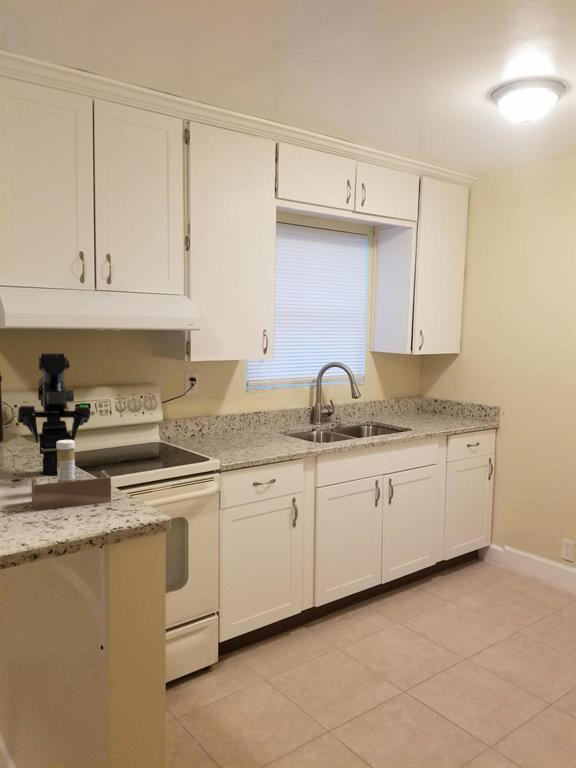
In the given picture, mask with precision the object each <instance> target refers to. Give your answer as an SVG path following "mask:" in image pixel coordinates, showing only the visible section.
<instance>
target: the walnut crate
mask: <svg viewBox="0 0 576 768" xmlns="http://www.w3.org/2000/svg"><path fill="white" fill-rule="evenodd" d="M100 473H101V474H100V478H99V477H98V478H89V479H79V480H75V481H67V482H58V481H57V482H49V483H38V482H37V479H36V477H31V478H30V479H31V480H30V482H31V483H30V484H31V486H30V487H31V502H32V506H33V509H34V511H42V510H43V511H44V510H49V509H50V510H51V509H60V508H68V507H76V506H85V505H91V504H92V505H93V504H100V503H101V504H102V503H108V502H112V480H111V479H112V478H111V476H110V475H109V474H108V473H107V472H106V471H105V470H101V471H100Z"/></svg>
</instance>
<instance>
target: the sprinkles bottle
mask: <svg viewBox="0 0 576 768" xmlns="http://www.w3.org/2000/svg"><path fill="white" fill-rule="evenodd" d="M75 446H76V444H75V439H74V440H60V441H57V442H56V448H57V475H56V476H57V478H56V479H57V482H67V481H76V480H75V478H76V468H75V467H76V462H75V461H76V459H75V449H76V447H75Z"/></svg>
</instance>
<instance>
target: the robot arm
mask: <svg viewBox="0 0 576 768" xmlns="http://www.w3.org/2000/svg"><path fill="white" fill-rule="evenodd" d="M68 368H69V369H70V361H69V360H68V358H67V356H65V354H64V352H52V353H51V352H50V353H49V352H47V353H46V352H43V353H41V356H39V357H38V370H39V371H41V373H42V376H41V378H40V379H39V381H38V382H37V389H38V392H37V393H38V401H40V406H41V407H42V409H43V410H35V407H36V406H35V405H21V406H19V407H18V411H17V423H20V424H21V423H22V425H23V426H26V427H27V428H28V430H29V431H30V433H31V436H32V437H33V439H34V441H35V443H36V444H38V443H39V455H43V456H42V457H43V458H42V470H40V471H39V474H41V475H50V476H57V448H56V442H57V441H60V440H74V441H75V439H76V436H77V432H78V429H79V427H80V426H83V425H84V424H86V423H88V422H89V420H90V417H91V408H90V407H89V406H75V408H74V410H66V409H67V406H68V405H67V403H73V402H74V401H75V393H74V389H66V381H65V376H66V375H65V374H66V371H68ZM37 418H42V419H43V418H44V419H45V418H46V421H43V422H42V427H41V433H38V426H37ZM61 418H63V419H65V418H67V419H68V418H70V419H71V418H72V419H73V420H72V421H73V422H72V426H71V433H70V431H68V427H67V422H66V421H65V420H61Z"/></svg>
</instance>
